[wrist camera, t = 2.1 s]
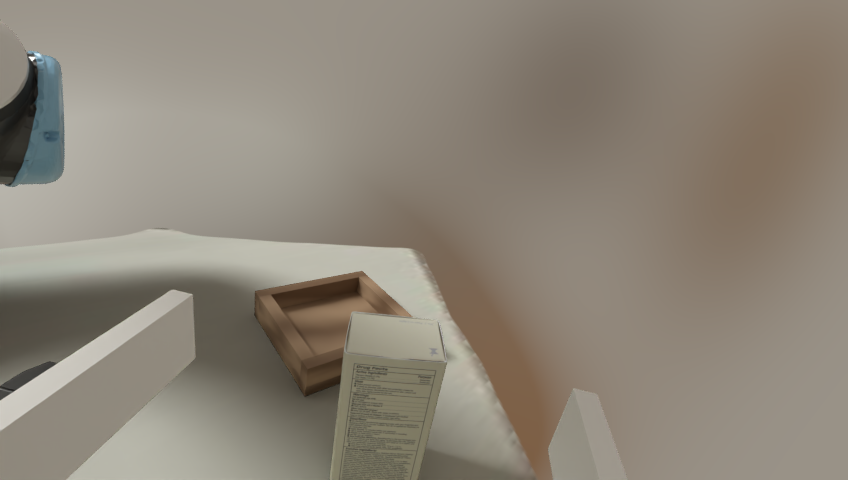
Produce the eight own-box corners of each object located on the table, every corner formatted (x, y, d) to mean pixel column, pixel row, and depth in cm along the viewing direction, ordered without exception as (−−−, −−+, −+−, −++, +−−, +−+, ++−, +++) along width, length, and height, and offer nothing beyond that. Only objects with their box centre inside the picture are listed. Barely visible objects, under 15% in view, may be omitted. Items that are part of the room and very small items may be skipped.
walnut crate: (254, 314, 43) (255, 291, 42) (359, 291, 51) (362, 270, 50) (304, 396, 35) (307, 369, 33) (421, 352, 43) (426, 329, 42)
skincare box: (412, 444, 32) (443, 318, 28) (414, 498, 28) (451, 363, 24) (333, 437, 31) (351, 307, 27) (324, 493, 27) (343, 351, 23)
